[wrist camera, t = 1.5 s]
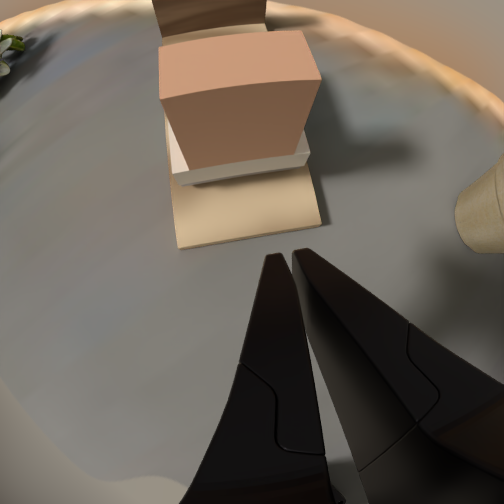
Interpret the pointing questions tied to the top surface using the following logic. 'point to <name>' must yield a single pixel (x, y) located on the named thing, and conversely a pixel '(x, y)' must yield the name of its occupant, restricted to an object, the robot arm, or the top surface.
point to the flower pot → (483, 212)
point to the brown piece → (237, 104)
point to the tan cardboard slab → (239, 188)
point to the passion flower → (9, 43)
